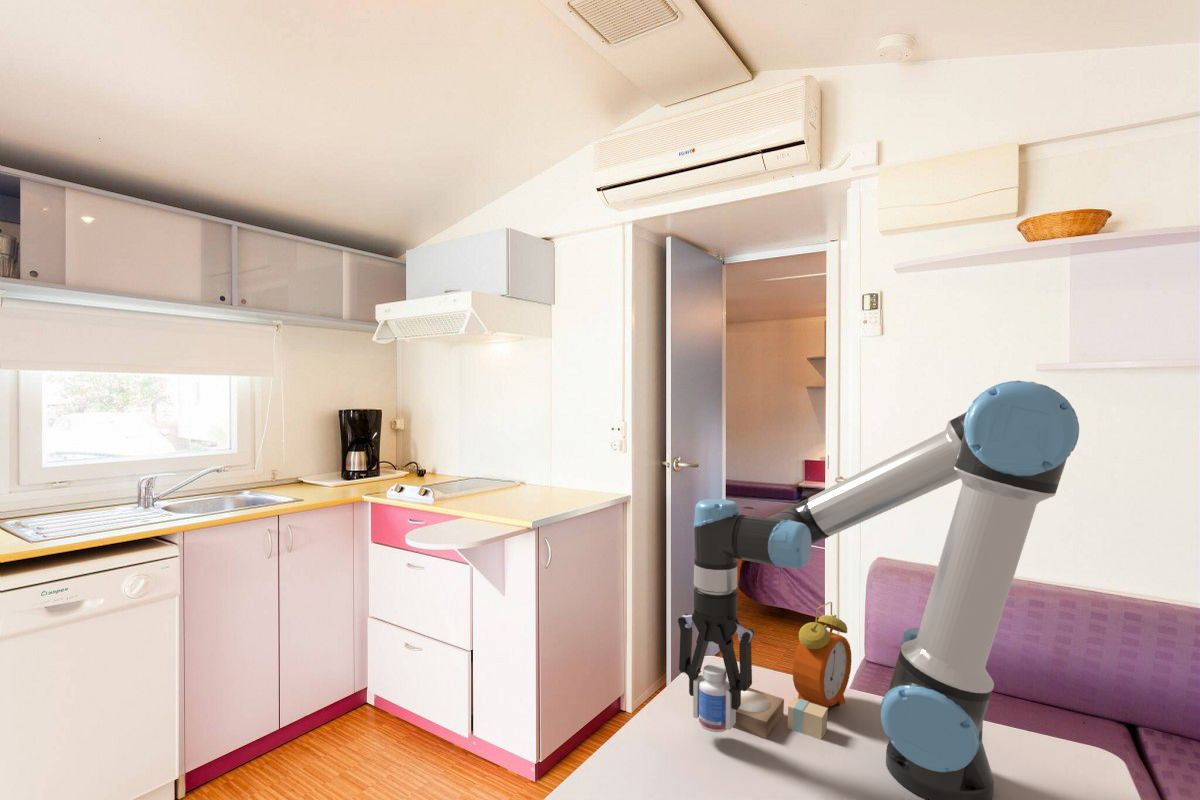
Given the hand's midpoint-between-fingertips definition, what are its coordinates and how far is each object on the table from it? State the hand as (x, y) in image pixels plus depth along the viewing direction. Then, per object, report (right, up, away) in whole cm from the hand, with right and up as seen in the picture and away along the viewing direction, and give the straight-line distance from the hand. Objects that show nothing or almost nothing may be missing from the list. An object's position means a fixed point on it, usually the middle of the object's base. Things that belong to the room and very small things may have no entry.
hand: (714, 719), depth 104 cm
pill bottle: (0, -1, 0) cm, 1 cm away
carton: (+18, -4, +5) cm, 19 cm away
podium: (+8, -4, +8) cm, 12 cm away
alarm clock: (+24, -4, +13) cm, 27 cm away
